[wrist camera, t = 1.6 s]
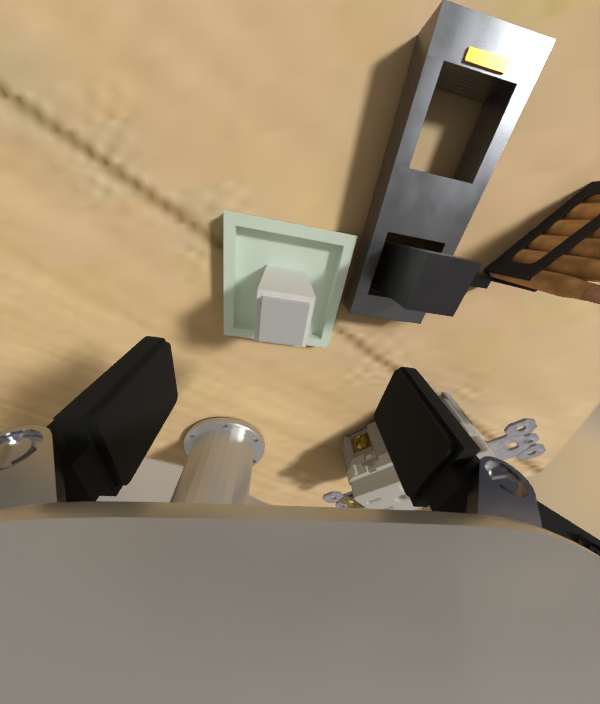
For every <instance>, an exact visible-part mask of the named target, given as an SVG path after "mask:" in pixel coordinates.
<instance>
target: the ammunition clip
mask: <svg viewBox="0 0 600 704" xmlns="http://www.w3.org/2000/svg"><path fill="white" fill-rule="evenodd" d="M485 272H486V273H487V275H488V276H490V277H493V278H492V280H491V281H494V282H498V283H502V284H506V285H510V286H514V287H518V288H522V289H526V290H530V291H533V292H536V291H537V290H539V291H543V292H546V293H550V294H553V295H557V296H561V297H567V298H575V299H580V300H584V301H589V302H593V303H597V304H600V285H597V284H594V283H590V282H587V281H593V282H600V181H596V182H591V183H590V184H589V185H587V186H586V187H585V188H584V189H582V190H581V191H580V192H579V193H578V194H576V195H575V196H574V197H573V198H571V199H570V200H569V201H568V202H566V203H565V204H564V205H563V206H561V207H560V208H559V209H558V210H557V211H555V212H554V213H553V214H552V215H550V216H549V217H548V218H547V219H545V220H544V221H543V222H542V223H540V224H539V225H538V226H537V227H536V228H534V229H533V230H532V231H531V232H529V233H528V234H527V235H526V236H524V237H523V238H522V239H521V240H519V241H518V242H517V243H516V244H515V245H513V246H512V247H511V248H510V249H508V250H507V251H506V252H505V253H503V254H502V255H501V256H500V257H498V258H497V259H496V260H495V261H494V262H492V263H491V264H490V265H489V266H487V267H486V268H485Z"/></svg>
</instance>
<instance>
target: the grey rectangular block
mask: <svg viewBox="0 0 600 704" xmlns="http://www.w3.org/2000/svg"><path fill="white" fill-rule="evenodd" d="M315 300H316V297H315V294H314V291H313V288H312V286H311V283H310V280H309V278H308V275H307V272H306V271H304V270H298V269H292V268H286V267H280V266H274V265H268V264H267V266H266V269H265V271H264V274H263V276H262V279H261V281H260V284H259V287H258V290H257V303H256V316H255V329H254V341H256V342H264V343H272V344H280V345H289V346H297V347H306V343H307V338H308V333H309V328H310V324H311V319H312V314H313V309H314V305H315Z"/></svg>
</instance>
